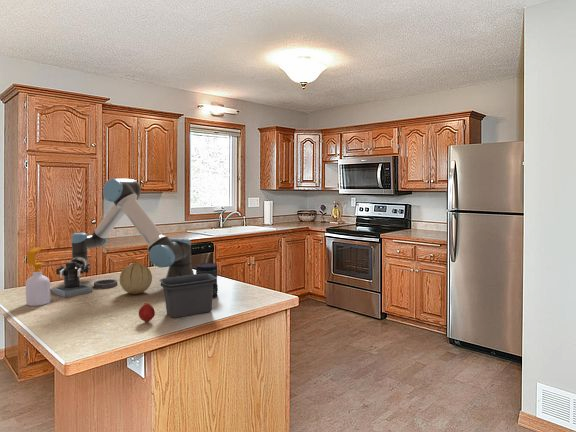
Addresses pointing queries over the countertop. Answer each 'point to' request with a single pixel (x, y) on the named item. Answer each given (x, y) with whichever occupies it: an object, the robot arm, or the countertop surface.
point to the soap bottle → (37, 283)
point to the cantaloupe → (135, 278)
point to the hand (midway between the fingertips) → (69, 274)
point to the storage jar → (209, 269)
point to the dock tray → (71, 290)
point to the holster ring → (105, 283)
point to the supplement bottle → (71, 275)
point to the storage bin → (188, 294)
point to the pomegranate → (146, 312)
